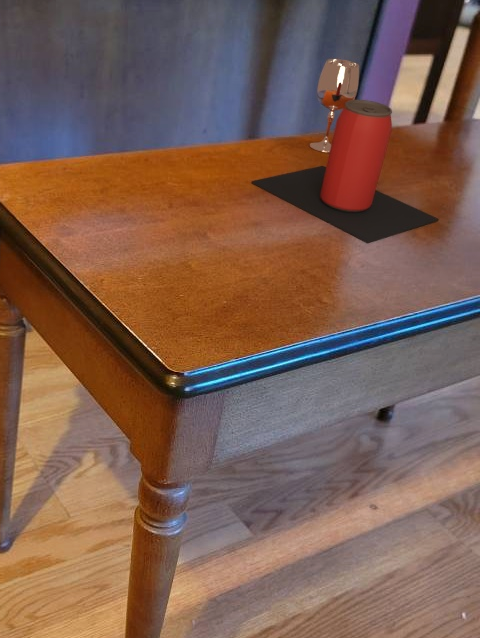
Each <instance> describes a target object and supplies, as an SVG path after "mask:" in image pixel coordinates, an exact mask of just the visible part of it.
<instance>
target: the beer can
mask: <svg viewBox="0 0 480 638" xmlns="http://www.w3.org/2000/svg"><path fill="white" fill-rule="evenodd" d="M392 114H393V110H392V108H391V107H389V106H388V105H386V104H384V103H380V102H377V101H372V100H366V99H354V100H350V101H347V102H346V103H345V107H344V109H341V112H340V113H339V115H338V117H337V119H336V122H335V127H334V131H333V135H332V140H331V143H330V144H331V149H330V153H329V154H328V157H327V163H326V166H325V167H326V171H325V175H324V180H323V184H322V189H321V193H320V197H321V199H322V201H323V202H324V203H325V204H326V205H328V206H329V207H332V208H334V209H337V210H340V211H345V212H361V211H364V210H366V209H368V208H369V207H370V206H371V205H372V202H373V198H374V194H375V191H376V190H377V187H378V182H379V179H380V176H381V172H382V169H383V164H384V160H385V157H386V153H387V149H388V146H389V142H390V139H391V135H392V132H393V131H392V130H393V128H392V127H393V123H392V122H393V121H392Z"/></svg>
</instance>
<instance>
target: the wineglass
mask: <svg viewBox="0 0 480 638" xmlns="http://www.w3.org/2000/svg"><path fill="white" fill-rule="evenodd" d="M359 80H360V65H359V63H357V62H354V61H351V60H347V59H340V58H328V59H326V61H325V62H324V65H323V68H322V70H321V72H320V75H319V78H318V81H317V85H316V98H317V100H318V102H319V103H320V105H322V106H323V107H324V108H326V109H328V110H329V112H328V114H327V115H326V116H327V118H326V119H327V121H326V123H327V124H326V129H325V135H324V138H323V139H322V140H321V141H313V142H311V143H309V147H310V148H311V149H313V150H315V151H317V152H322V153H326V154H327V153H330V149H331V144H332V143H330V141H329V134H330V129H331V126H332V124H333V122H334V121H335V111H340V110H341V111H342V110H343V109H344V107H345V103H346V102H347V101H350V100H356V96H357V93H358V89H359Z"/></svg>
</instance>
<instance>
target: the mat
mask: <svg viewBox="0 0 480 638" xmlns="http://www.w3.org/2000/svg"><path fill="white" fill-rule="evenodd" d="M325 171H326V166H324V165H319V166H315V167H310V168H305V169H302V170H297V171H292V172H287V173H282V174H277V175H273V176H268V177H264V178H259V179H255V180H251V182H250V183H251V184H252V185H254V186H256V187H257V188H260V189H262V190H263V191H266V192H268V193H269V194H272V195H273V196H275V197H278V198H279V199H281V200H283V201H285V202H287V203H288V204H291V205H293V206H295V207H296V208H298V209H301V210H303V211H305V212H307V213H308V214H309V215H312V216H315V217H317V218H318V219H320V220H322V221H324V222H326V223H328V224H330V225H332V226H334V227H336V228H337V229H339V230H341V231H344V232H345V233H347V234H349V235H351V236H352V237H355V238H357V239H358V240H361V241H363V242H365V243H367V244H370V243H372V242H377V241H379V240H382V239H385V238H389V237H392V236H395V235H398V234H402V233H405V232H409V231H412V230H414V229H418V228H420V227H424V226H427V225H430V224H433V223H436V222H439V219H440V218H438V217H436V216H433V215H431V214H430V213H426V212H425V211H423V210H421V209H418V208H416V207H413V206H412V205H410V204H408V203H406V202H403V201H401V200H399V199H396V198H394V197H392V196H390V195H388V194H385V193H383V192H381V191H379V190H377V189H376V191H375V194H374V198H373V202H372V205H371V206H370V207H369V208H368V209H366V210H364V211H361V212H345V211H340V210H337V209H334V208H332V207H329V206H328V205H326V204H325V203H324V202H323V201H322V199H321V197H320V193H321V189H322V184H323V180H324V175H325Z"/></svg>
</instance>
